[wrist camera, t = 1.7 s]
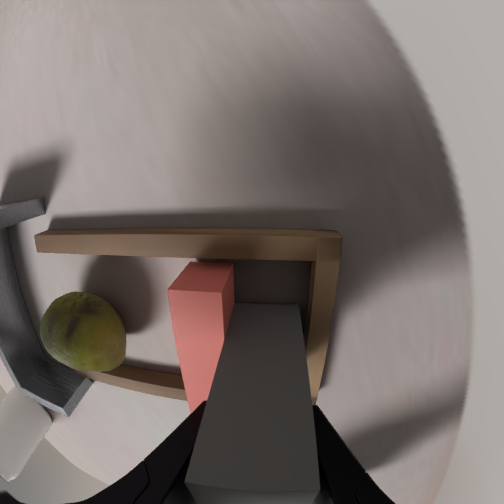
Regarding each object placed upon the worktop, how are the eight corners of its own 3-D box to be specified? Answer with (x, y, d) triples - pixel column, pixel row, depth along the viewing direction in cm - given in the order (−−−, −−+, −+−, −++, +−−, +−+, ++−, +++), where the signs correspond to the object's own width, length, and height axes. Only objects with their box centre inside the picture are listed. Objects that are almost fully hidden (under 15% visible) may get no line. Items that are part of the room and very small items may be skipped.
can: (14, 376, 19) (-39, 436, 8) (54, 413, 20) (7, 483, 8) (16, 397, 21) (-26, 450, 9) (53, 429, 22) (14, 488, 10)
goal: (92, 383, 17) (68, 417, 13) (43, 366, 17) (19, 392, 13) (43, 197, 12) (-6, 210, 8) (-2, 205, 13) (-42, 218, 9)
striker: (290, 380, 14) (293, 529, 6) (203, 375, 14) (158, 514, 6) (301, 264, 12) (341, 450, 3) (190, 261, 12) (75, 411, 4)
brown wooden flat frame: (312, 393, 15) (314, 408, 14) (84, 364, 16) (76, 374, 15) (335, 231, 12) (342, 237, 11) (47, 230, 13) (34, 235, 12)
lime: (149, 340, 14) (111, 399, 10) (92, 343, 15) (52, 390, 10) (119, 270, 13) (62, 315, 8) (64, 283, 14) (11, 320, 9)
